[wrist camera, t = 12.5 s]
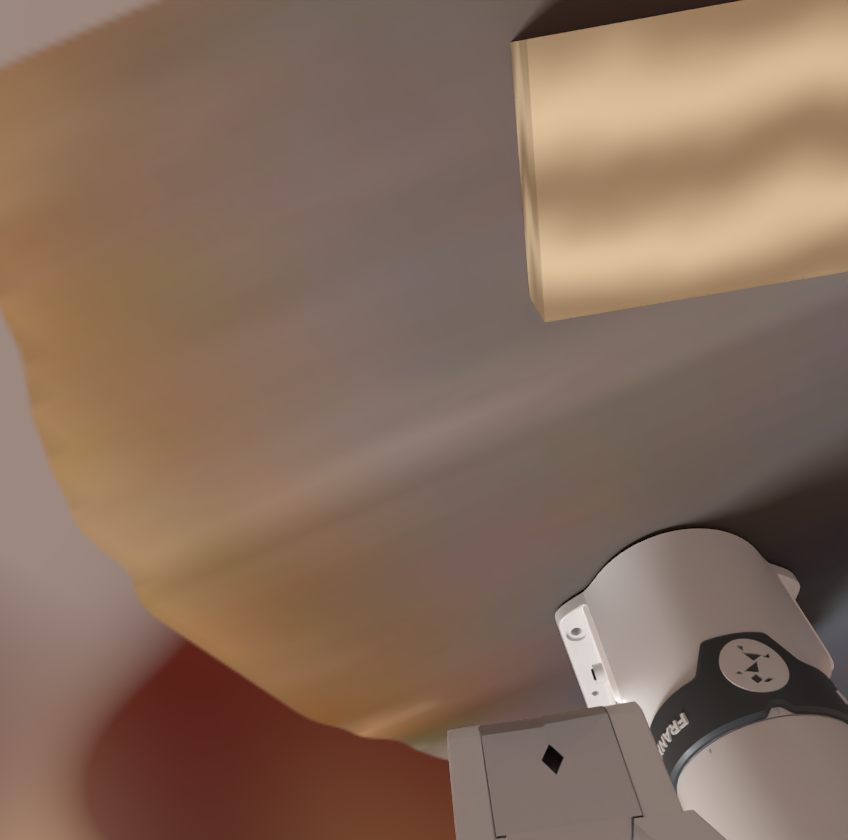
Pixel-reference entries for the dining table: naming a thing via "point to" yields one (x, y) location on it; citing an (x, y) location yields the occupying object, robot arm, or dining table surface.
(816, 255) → the square wooden plank
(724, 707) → the robot arm
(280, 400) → the dining table surface
